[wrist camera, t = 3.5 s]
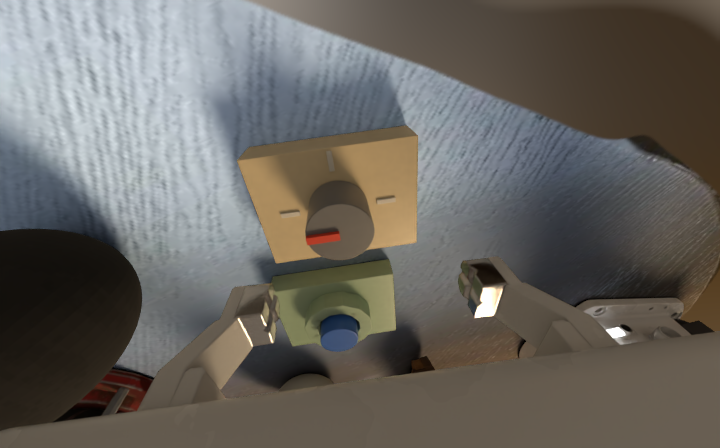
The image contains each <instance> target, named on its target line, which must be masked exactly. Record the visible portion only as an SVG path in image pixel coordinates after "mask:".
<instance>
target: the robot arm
mask: <svg viewBox="0 0 720 448" xmlns="http://www.w3.org/2000/svg"><path fill="white" fill-rule="evenodd" d="M461 269H462V272H461V273H460V274H459V278H458V284H459V289H460V292H461V293H462V295H463V297H465V298H466V299H468V300H469V301H468V306H469V308H470V310H471V312H472V313H473V315H474V317H485V316H495V317H496V318H497V319H499V320H500V321H501V322H502V323H504V324H505V325H506V326H508V327H509V328H510V329H512V330H513V331H514V332H515V333H517V334H518V335H519V336H521V337H522V338H523V339H525V340H526V342H525V343H524V345H523V346H522V348H521V350H520V353H519V359H513V360H506V361H499V362H491V363H484V364H477V365H469V366H462V367H455V368H448V369H440V370H433V371H426V372H418V373H411V374H404V375H397V376H389V377H382V378H375V379H367V380H360V381H353V382H346V383H338V384H331V385H324V386H316V387H309V388H302V389H294V390H287V391H280V392H272V393H265V394H258V395H250V396H243V397H236V398H228V399H227V398H226V397H225V396H224V394H223V393H222V392H221V389H222V388H223V386H224V385H225V384H226V382H227V381H228V380H229V378H230V377H231V376H232V374H233V373H234V372H235V370H236V369H237V368H238V367H239V365H240V364H241V363H242V361H243V360H244V359H245V357H246V356H247V355H248V353H249V352H250V351H251V349H252V348H253V346H259V345H265V344H272V343H274V340H275V335H276V330H277V328H276V325H275V322H276V321H277V320H278V319H279V314H280V304H279V300H278V297H277V296H276V295H274V291H275V288H274V286H273V284H272V283H268V284H257V285H247V286H238V287H234V288H233V289H232V291H231V293H230V296H229V298H228V301H227V303H226V305H225V308H224V310H223V313H222V315H221V317H220V320H217V321H215V322H213V323H212V324H211V325H210V326H209V327H208V328H207V329H206V330H204V331H203V332H202V333H201V334H200V335H199V336H198V337H196V338H195V339H194V340H193V341H192V342H191V343H190V344H189V345H187V346H186V347H185V348H184V349H183V350H182V351H181V352H180V353H178V354H177V355H176V356H175V357H174V358H173V359H172V360H170V361H169V362H168V363H167V364H166V365H165V366H164V367H163V368H161V369H160V370H159V371H158V373H157V375H156V376H155V378H154V380H153V382H152V384H151V386H150V387H149V389H148V391H147V393H146V395H145V397H144V398H143V400H142V402H141V404H140V406H139V408H138V410H137V411H133V412H126V413H118V414H111V415H104V416H96V417H89V418H82V419H74V420H67V421H60V422H52V423H45V424H37V425H29V426H21V427H14V428H9V429H5V430H1V431H0V448H720V331H719V332H714V331H713V330H711V329H710V328H709V327H707V326H706V325H704V324H703V323H702V322H700V321H695V322H691V323H689V322H686V321H683V320H680V317H681V315H682V313H683V309H684V305H683V303H682V302H681V301H680V300H679V299H677V298H637V299H596V300H587V301H585V302H583V303H581V304H580V305H578V306H577V307H573V306H571V305H569V304H567V303H565V302H563V301H561V300H559V299H557V298H555V297H553V296H551V295H549V294H547V293H545V292H543V291H541V290H539V289H537V288H535V287H533V286H531V285H529V284H527V283H522V282H521V281H520V280H519V279H518V278H517V277H516V275H515V274H514V273H513V272H512V271H511V270H510V268H509V267H508V266H507V265H506V264H505V263H504V261H503V260H502V259H501V258H500V257H498V256H495V257H488V258H480V259H472V260H464V261H463V262H462V263H461Z"/></svg>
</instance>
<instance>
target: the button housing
mask: <svg viewBox="0 0 720 448" xmlns="http://www.w3.org/2000/svg"><path fill="white" fill-rule="evenodd" d="M271 283H272V284H273V286H274V288H275V291H274V295H276V296H277V297H278V300H279V304H280V314H279V317H280V319H281V321H282V324H283V326H284V328H285V331H286V333H287V335H288V337H289V340H290V342H291V344H292V346H298V345H305V344H311V343H316V344H318V345H321V342H320V335H321V323H322V321H323V320H324V319H325V318H327V317H329V316H331V315H338V314H344V315H349V316H352V317H353V318H354V319H355V320H356V322H357V330H358V342H359V341H361V340H363V339H365V338H366V336H367V335H368V334H374V333H380V332H387V331H393V330H396V320H395V301H394V282H393V272H392V268H391V265H390V262H389V259H386V260H380V261H373V262H366V263H360V264H353V265H347V266H340V267H333V268H327V269H320V270H313V271H307V272H300V273H294V274H287V275H280V276H274V277H273V278H272V282H271ZM321 346H322V345H321Z"/></svg>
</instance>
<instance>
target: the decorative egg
mask: <svg viewBox="0 0 720 448" xmlns="http://www.w3.org/2000/svg"><path fill="white" fill-rule="evenodd" d="M141 306H142V291H141V285H140V281H139V278H138V276H137V273H136V271H135V270H134V268H133V266H132V265H131V264H130V262H129V261H128V260H127V259H126V258H125V257H124V256H123V255H122V254H121V253H120V252H118V251H117V250H116V249H114V248H113V247H111V246H110V245H108V244H106V243H104V242H102V241H100V240H97V239H94V238H92V237H89V236H86V235H82V234H78V233H73V232H68V231H61V230H51V229H16V230H6V231H0V431H1V430H5V429H9V428H14V427H21V426H29V425H37V424H45V423H52V422H53V421H55V420H56V419H58V418H59V417H60V416H62V415H63V414H64V413H66V412H67V411H68V410H69V409H71V408H72V407H73V406H74V405H76V404H77V403H78V402H79V401H80V400H82V399H83V398H84V397H85V396H86V395H87V394H88V393H89V392H90V391H91V390H92V389H93V388H94V387H95V386H96V385H97V384H98V383H99V382H100V381H101V380H102V379H103V378H104V377H105V376H106V375H107V373H108V372H109V371H110V370H111V369H112V367H113V366H114V365H115V364H116V362H117V361H118V359H119V358H120V356H121V355H122V353H123V352H124V350H125V349H126V347H127V345H128V344H129V342H130V340H131V338H132V336H133V334H134V331H135V329H136V326H137V323H138V320H139V317H140V312H141Z"/></svg>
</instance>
